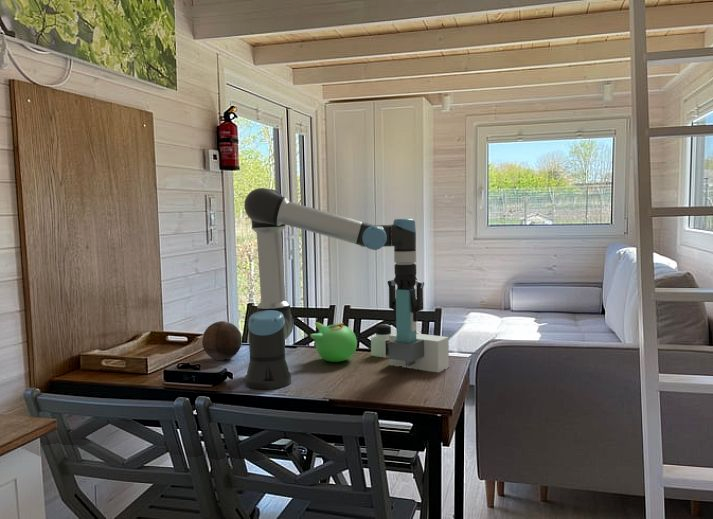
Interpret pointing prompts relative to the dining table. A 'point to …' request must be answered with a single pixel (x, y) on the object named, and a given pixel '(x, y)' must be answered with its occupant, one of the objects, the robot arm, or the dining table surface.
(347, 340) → the green round body
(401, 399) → the dining table surface
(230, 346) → the wooden sphere
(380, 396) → the dining table surface
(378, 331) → the medicine bottle
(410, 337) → the rail post
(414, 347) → the box
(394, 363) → the stand
